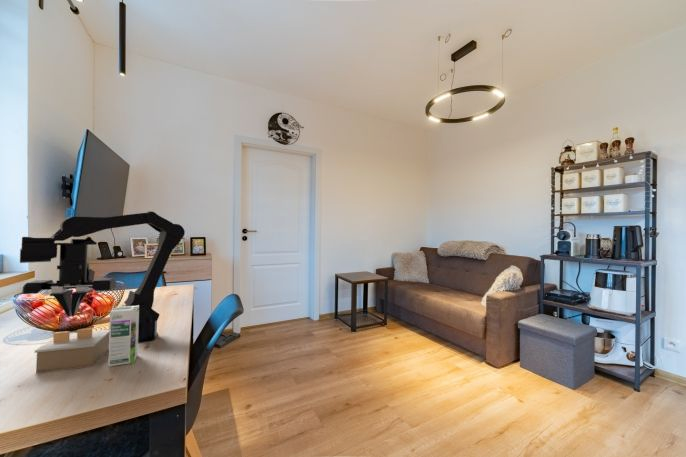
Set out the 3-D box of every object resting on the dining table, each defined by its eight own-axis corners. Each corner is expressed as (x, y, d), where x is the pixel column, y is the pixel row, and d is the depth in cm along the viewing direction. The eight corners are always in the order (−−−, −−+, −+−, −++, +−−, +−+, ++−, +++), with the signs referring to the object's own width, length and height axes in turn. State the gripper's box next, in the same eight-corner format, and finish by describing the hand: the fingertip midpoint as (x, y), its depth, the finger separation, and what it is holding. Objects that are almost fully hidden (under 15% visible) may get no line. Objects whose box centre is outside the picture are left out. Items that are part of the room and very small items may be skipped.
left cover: (102, 338, 80) (103, 328, 80) (93, 346, 75) (94, 335, 75) (48, 343, 76) (48, 332, 76) (34, 352, 70) (34, 340, 70)
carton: (108, 349, 86) (109, 332, 86) (92, 366, 75) (93, 347, 75) (60, 354, 81) (61, 336, 81) (36, 373, 71) (36, 352, 71)
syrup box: (107, 367, 74) (109, 311, 75) (113, 358, 80) (114, 306, 80) (134, 363, 77) (136, 309, 77) (138, 355, 82) (139, 304, 82)
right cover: (111, 331, 86) (111, 321, 86) (103, 338, 81) (103, 327, 81) (60, 335, 82) (61, 325, 82) (48, 343, 76) (49, 332, 76)
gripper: (122, 257, 93) (121, 306, 92) (46, 258, 85) (44, 311, 85) (110, 261, 82) (108, 316, 82) (22, 262, 75) (19, 322, 75)
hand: (71, 315), depth 81 cm, fingers closed
